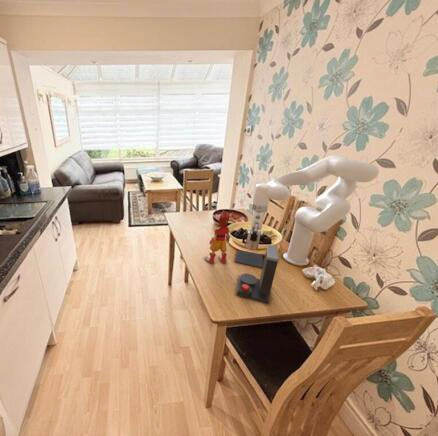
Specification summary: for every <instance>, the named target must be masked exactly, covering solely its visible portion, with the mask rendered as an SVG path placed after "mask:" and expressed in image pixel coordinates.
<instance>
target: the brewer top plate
mask: <svg viewBox="0 0 438 436" xmlns="http://www.w3.org/2000/svg"><path fill="white" fill-rule="evenodd" d="M236 252H237V253H236V256H235V257H236V258H235V261H234V262H235V263H236V264H240V265H245V266H250V267H255V268H259V269H262V268H263V263H264V254H261V253H256V252H251V251H246V250H242V249H237V251H236Z"/></svg>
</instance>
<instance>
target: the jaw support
mask: <svg viewBox="0 0 438 436" xmlns="http://www.w3.org/2000/svg"><path fill="white" fill-rule="evenodd" d="M326 270H327V269H326V268H323V267H320V266H318V265H316V264H314V265H313V266H310V267H306V268H303V269H301V271H302V272H303V274H304V275H305V276H306V277H307V278H312V279H315V280H313V282H312V283H311V284H310V285H311V287H313V288H314V289H315V290H316V291H318V288H319V287H320V288H321V289H322V290H324V291H326V290H327V289H329V288H330V287H333V286H334V285H335V284H336V279H334V278H333V276H332V274H329V273H328V272H327V271H326Z"/></svg>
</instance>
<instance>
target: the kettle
mask: <svg viewBox="0 0 438 436" xmlns="http://www.w3.org/2000/svg"><path fill="white" fill-rule="evenodd" d="M253 231H254V230H253ZM251 233H252V229H250V230H248V231H247V232H244V233H243V236H242V244H243V245H244V247H245V248H246V249H248V250H250V251H256V250H258V249H259V245H260V240H261V234H262V233H261V232H260V230H258V236H257V241H251V240H250V237H251Z"/></svg>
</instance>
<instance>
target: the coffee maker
mask: <svg viewBox="0 0 438 436" xmlns="http://www.w3.org/2000/svg"><path fill="white" fill-rule="evenodd" d="M257 280H258V281H257V283H256V284H253V285H251V284H246V283H244V282H243V281H241V279H240V277H239V278H238V285H237V291H236V296H238V297H241V298H245V299H249V300H253V301H257V302H259V303H260V302H261V303H263V304H267V305H268V304H269V295H265V294H261V293H259V289H260V278H257ZM243 284H246V285H248V286H249V290H248V291H243V290H242V285H243Z"/></svg>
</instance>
